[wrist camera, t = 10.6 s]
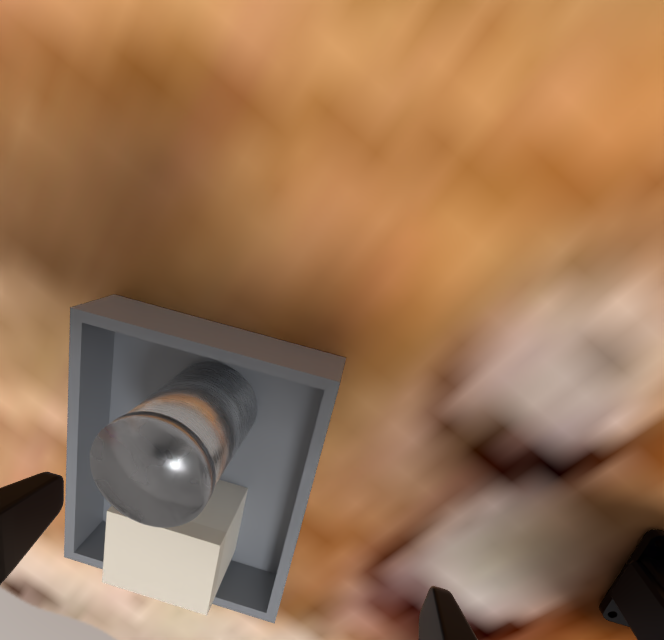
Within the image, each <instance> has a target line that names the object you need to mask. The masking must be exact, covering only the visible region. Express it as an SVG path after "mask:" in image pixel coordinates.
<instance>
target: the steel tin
mask: <svg viewBox="0 0 664 640" xmlns="http://www.w3.org/2000/svg"><path fill="white" fill-rule="evenodd" d="M256 416H257V401H256V397H255V394H254V392H253V389H252V388H251V386H250V384H249V383H248V382H247V380H246V379H245V378H244V377H243V376H242V375H241V374H239V373H238V372H237V371H235V370H234V369H232V368H230V367H228V366H226V365H223V364H221V363H216V362H200V363H196V364H193V365H191V366H189V367H187V368H186V369H185V370H183V371H182V372H181V373H179V374H178V375H177V376H175V377H174V378H173V379H171V380H170V381H169V382H168V383H166V384H165V385H164V386H162V387H161V388H160V389H158V390H157V391H156V392H154V393H153V394H152V395H150V396H149V397H148V398H147V399H145V400H144V401H143V402H141V403H140V404H139V405H137V406H136V407H135V408H133V409H132V410H131V411H130V412H128V413H127V414H125V415H122V416H120V417H118V418H117V419H115V420H114V421H112V422H111V423H110V424H108V425H107V426H106V427H104V428H103V429H102V430H101V431H100V432H99V433H98V435H97V436H96V438H95V439H94V442H93V444H92V447H91V450H90V468H91V472H92V476H93V479H94V481H95V483H96V485H97V487H98V489H99V490H100V492H101V493H102V495H103V496H104V497H105V499H106V500H107V501H108V502H109V503H110V504H111V505H112V506H113V507H114V508H115V509H116V510H118V511H119V512H120V513H122V514H123V515H125V516H127V517H128V518H130V519H132V520H134V521H136V522H139V523H141V524H144V525H148V526H152V527H160V528H169V527H176V526H181V525H183V524H186V523H188V522H190V521H192V520H193V519H194V518H196V517H197V516H198V515H199V514H200V513H201V512H202V510H203V509H204V507H205V506H206V504H207V503H208V501H209V499H210V498H211V496H212V493H213V491H214V487H215V485H216V484H217V482H218V480H219V479H220V477H221V476H222V474H223V473H224V471H225V469H226V468H227V466H228V465H229V463H230V461H231V460H232V458H233V457H234V455H235V453H236V452H237V450H238V449H239V447H240V445H241V444H242V442H243V441H244V439H245V437H246V436H247V434H248V433H249V431H250V429H251V428H252V426H253V425H254V422H255V420H256Z"/></svg>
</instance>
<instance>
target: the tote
mask: <svg viewBox="0 0 664 640" xmlns="http://www.w3.org/2000/svg"><path fill="white" fill-rule="evenodd" d="M345 360H346V358H345V357H341V356H338V355H334V354H330V353H327V352H323V351H319V350H316V349H312V348H308V347H305V346H301V345H298V344H294V343H290V342H287V341H283V340H279V339H276V338H272V337H268V336H265V335H261V334H257V333H254V332H250V331H246V330H243V329H239V328H235V327H232V326H228V325H224V324H221V323H217V322H213V321H210V320H206V319H202V318H199V317H195V316H192V315H188V314H184V313H181V312H177V311H173V310H170V309H166V308H162V307H159V306H155V305H151V304H148V303H144V302H140V301H137V300H133V299H129V298H126V297H122V296H118V295H115V294H114V295H110V296H107V297H104V298H100V299H97V300H94V301H90V302H87V303H84V304H80V305H77V306H73V307H70V343H69V384H68V424H67V464H66V505H65V545H64V557H66V558H69V559H72V560H75V561H78V562H82V563H85V564H88V565H91V566H94V567H97V568H101V569H103V560H104V546H105V531H106V516H107V510H108V509H109V508H110V507H111V506H112V505H111V504H110V503H109V502H108V501H107V500H106V499H105V497H104V496H103V495H102V493H101V492H100V490H99V489H98V487H97V485H96V483H95V481H94V479H93V476H92V472H91V468H90V450H91V447H92V444H93V442H94V439H95V438H96V436H97V435H98V433H99V432H100V431H101V430H102V429H103V428H104V427H106V426H107V425H108V424H110V423H111V422H112V421H114V420H115V419H117V418H118V417H120V416H122V415H125V414H127V413H128V412H130V411H131V410H132V409H133V408H135V407H136V406H137V405H139V404H140V403H141V402H143V401H144V400H145V399H147V398H148V397H149V396H150V395H152V394H153V393H154V392H156V391H157V390H158V389H160V388H161V387H162V386H164V385H165V384H166V383H168V382H169V381H170V380H171V379H173V378H174V377H175V376H177V375H178V374H179V373H181V372H182V371H183V370H185V369H186V368H187V367H189V366H191V365H193V364H196V363H200V362H216V363H221V364H223V365H226V366H228V367H230V368H232V369H234V370H235V371H237V372H238V373H239V374H241V375H242V376H243V377H244V378H245V379H246V380H247V382H248V383H249V384H250V386H251V388H252V389H253V392H254V394H255V397H256V401H257V416H256V420H255V422H254V425H253V426H252V428H251V429H250V431H249V433H248V434H247V436H246V437H245V439H244V441H243V442H242V444H241V445H240V447H239V449H238V450H237V452H236V453H235V455H234V457H233V458H232V460H231V461H230V463H229V465H228V466H227V468H226V469H225V471H224V473H223V474H222V476H221V477H220V479H219V480H222V481H226V482H229V483H232V484H236V485H239V486H242V487H246V488H248V491H247V496H246V501H245V505H244V510H243V515H242V520H241V524H240V529H239V534H238V539H237V544H236V548H235V552H234V554H233V556H232V559H231V561H230V563H229V566H228V568H227V570H226V572H225V575H224V577H223V579H222V582H221V584H220V586H219V589H218V591H217V593H216V596H215V598H214V600H213V603H212V604H215V605H218V606H221V607H224V608H227V609H230V610H234V611H237V612H240V613H243V614H246V615H249V616H253V617H256V618H259V619H262V620H265V621H268V622H272V623H275V619H276V616H277V612H278V608H279V605H280V601H281V597H282V594H283V590H284V586H285V583H286V579H287V575H288V572H289V568H290V564H291V561H292V557H293V553H294V550H295V546H296V542H297V539H298V535H299V532H300V528H301V524H302V521H303V517H304V513H305V510H306V506H307V502H308V499H309V495H310V491H311V488H312V484H313V480H314V477H315V473H316V469H317V466H318V462H319V458H320V455H321V451H322V447H323V444H324V440H325V436H326V433H327V429H328V425H329V422H330V418H331V414H332V411H333V407H334V404H335V400H336V396H337V393H338V389H339V385H340V381H341V377H342V373H343V369H344V365H345Z"/></svg>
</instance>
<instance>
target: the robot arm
mask: <svg viewBox="0 0 664 640" xmlns="http://www.w3.org/2000/svg"><path fill="white" fill-rule="evenodd" d="M63 501H64V481H63V478H62V476H60V475H57V474H53V473H50V472H43V473H40V474H37V475H34V476H31V477H29V478H26V479H23V480H21V481H18V482H15V483H13V484H10V485H7V486H4V487H2V488H0V584H1V583H2V582H3V581H4V580H5V579H6V578H7V576H8V575H9V574H10V573H11V572H12V571H13V569H14V568H15V567H16V566H17V564H18V563H19V562H20V561H21V559H22V558H23V557H24V556H25V555H26V553H27V552H28V551H29V550H30V548H31V547H32V546H33V545H34V543H35V542H36V541H37V540H38V538H39V537H40V536H41V535H42V533H43V532H44V531H45V530H46V528H47V527H48V526H49V525H50V523H51V522H52V521H53V520H54V518H55V517H56V516H57V515H58V513H59V512H60V510H61V508H62V506H63ZM599 609H600V611H601V613H602V615H603V617H604V618H605V619H606V620H608V621H612V622H615V623H618V624H622V625H625V626H628V627H630V628H631V630H632V631H633V633H634V635H635V636H636V638H637V640H664V531H661V530H656V529H655V530H650V531H648V532H647V533H646V534H645V535H644V537H643V539H642V540H641V542H640V543H639V545H638V546H637V548H636V549H635V551H634V553H633V554H632V556H631V557H630V559H629V560H628V562H627V564H626V565H625V567H624V568H623V570H622V571H621V573H620V574H619V576H618V578H617V579H616V581H615V582H614V584H613V585H612V587H611V588H610V590H609V592H608V593H607V595H606V596H605V598H604V599H603V601H602V602H601V604H600V606H599ZM419 640H478V639H477V638H476V636H475V634H474V632H473V631H472V629H471V627H470V625H469V624H468V622H467V620H466V618H465V616H464V615H463V613H462V611H461V609H460V608H459V606H458V604H457V602H456V601H455V599H454V597H453V595H452V594H451V593H450V592H449V591H448V590H445V589H442V588H439V587H435V586H432V587H431V588H430V589H429V591H428V594H427V596H426V599H425V601H424V604H423V606H422V609H421V612H420V617H419Z"/></svg>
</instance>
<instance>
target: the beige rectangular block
mask: <svg viewBox="0 0 664 640" xmlns="http://www.w3.org/2000/svg"><path fill="white" fill-rule="evenodd" d="M247 491H248V488H246V487H242V486H239V485H236V484H232V483H229V482H226V481H222V480H218V482H217V484H216V485H215V487H214V491H213V493H212V496H211V498H210V499H209V501H208V503H207V504H206V506H205V507H204V509H203V510H202V512H201V513H200V514H199V515H198V516H197V517H196V518H194V519H193V520H192V521H190V522H188V523H186V524H183V525H181V526H176V527H169V528H160V527H152V526H148V525H144V524H141V523H139V522H136V521H134V520H132V519H130V518H128V517H127V516H125V515H123V514H122V513H120V512H119V511H118V510H116V509H115V508H114V507H113V506H111V507H110V508H109V509H108V510H107V516H106V531H105V546H104V560H103V575H102V582H103V583H106V584H109V585H112V586H115V587H118V588H122V589H125V590H128V591H131V592H134V593H137V594H140V595H144V596H147V597H150V598H153V599H156V600H159V601H162V602H166V603H169V604H172V605H175V606H178V607H181V608H184V609H188V610H191V611H194V612H197V613H200V614H203V615H207V614H208V612H209V610H210V607H211V605H212V603H213V600H214V598H215V596H216V593H217V591H218V589H219V586H220V584H221V582H222V579H223V577H224V575H225V572H226V570H227V568H228V566H229V563H230V561H231V559H232V556H233V554H234V552H235V548H236V544H237V539H238V534H239V529H240V524H241V520H242V515H243V510H244V505H245V501H246V496H247Z"/></svg>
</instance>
